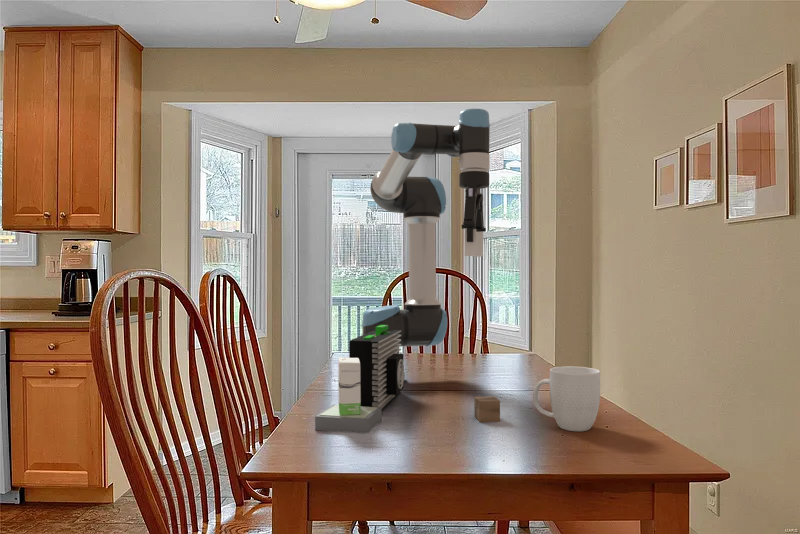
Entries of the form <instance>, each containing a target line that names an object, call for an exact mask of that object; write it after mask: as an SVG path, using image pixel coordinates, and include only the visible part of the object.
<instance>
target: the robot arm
mask: <svg viewBox="0 0 800 534" xmlns="http://www.w3.org/2000/svg"><path fill="white" fill-rule="evenodd" d="M458 119H459V120H458V123H459V124H458V125H447V124H446V125H445V124H428V123H427V124H426V123H414V122H413V123H412V122H399V123H395V125H394V126H393V128H392V131H391V136H390V137H391V141H390V143H391V148H392V150H391V152H390V154H389V156H388V157H387V159H386V161H385V163H384V165H383V167H382V168H381V170H380V171H378V172H377V173H375V174H374V176H373V178H372V179H371V182H370V187H369V188H370V194H371V197H372V199H373V201H374V203H376V205H377V206H379V208H381V209H383V210H384V211H386V212H390V213H394V214H395V213H397V214H403V220H404V222H406V223H407V225H408V290H409V291H408V293H409V294H408V300H407V301H406V302H405V303H404V309H401V308H400V305H397V304H394V305H383V306H377V307H371V308H367V309H366V310H364V312H363V314H362V320H361V321H362V324H361V326H362V335H364V334H366V333H369V332H371V331H376V327H377V326H379V325H388V331H393V330H401V332H399V333H397V334H396V335H401V337H399V338H397V339H401V341H400V342H398V343H396V344H401V346H399V347H398V348H397V349H400V347H430V346H438V345H440V344H441V343H442V342H443V341H444V339H445V337H446V334H447V329H448V315H447V314H448V313H447V312H446V310H445V309H444V308H441V307H442V306H441V304H442V303H441V302H440V301H439V300H438V299H437V289H436V288H437V284H436V283H437V281H436V279H437V277H436V275H437V272H436V268H437V267H436V266H437V265H436V263H437V262H436V261H437V259H436V258H437V257H436V224H437V222H438V221H439V220H440V219H441V215H442V214H444V213H445V210H446V205H447V196H446V195H447V194H446V190H445V186H444V184H443V182H442V181H441V180H440V179H439V178H436V177H428V176H409V175H410V173H411V171H412V170H413V168H414V167H415V166H416V164H417V162H418V161H419V159H420V157H421V156H422V154H432V155H434V154H435V155H447V156H448V157H452V158H458V159H457V160H456V162H457V164H459V171H460V173H459V177H458V179H459V180H458V181H459V182H458V184H459V187H460V188H462V189H465V190H464V191H465V195H464V196H465V200H464V201H465V202H464V210H463V211H464V213H463V224H461V229H462V230H463V229H464V257H474V258H475V257H478V258H479V257H480V258H481V257H482V258H483V257H484V232H486V231H487V228H486V227H485V224H484V211H483V210H484V207H483V206H484V204H483V203H484V202H483V201H484V195H483V193H481V189H486V188H488V187H490V173H489V170H491V168H490V167H491V166H490V165H491V164H490V162H491V161H490V157H491V155H490V132H491V131H490V127H491V124H490V114H489V112H488V110H486V109H484V108H468V109H463V110H461V111H460V113H459V117H458ZM397 353H400V351H399V352H397ZM405 380H406V374H405V371H404V382H405Z"/></svg>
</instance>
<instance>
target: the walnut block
mask: <svg viewBox="0 0 800 534" xmlns="http://www.w3.org/2000/svg"><path fill="white" fill-rule="evenodd" d="M473 402H474V404H473V405H474V408H473V409H474V410H473V412H474V413H473V415H474V416H473V417H475V418H476V419H477V420H478V421H479V422H478V421H477V420H476V419H475V418H474V419H475V420H476V421H477V422H478V423H500V422H501V400H500V399H499V398H497V397H496V396H474V400H473Z"/></svg>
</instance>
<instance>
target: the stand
mask: <svg viewBox="0 0 800 534" xmlns="http://www.w3.org/2000/svg"><path fill="white" fill-rule="evenodd" d="M382 414H383V412H382V408H379V407H362V406H361V414H356V415H340V414H339V404H333V405H331V406H329V407H328V408H326V409H324V410H322V412H319V413H318V414H317V415H315V416H314V422H315V423H314V428H315V429H314V430H315V431H329V432H342V433H356V434H357V433H358V434H368V433H369V432H370V431H371V430H373V428H375V427H376V426H377V425H379V423H381V421H382V418H383V417H382Z"/></svg>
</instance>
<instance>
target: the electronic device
mask: <svg viewBox="0 0 800 534" xmlns="http://www.w3.org/2000/svg"><path fill="white" fill-rule="evenodd" d="M399 332H401V330H393V331H388V325H379V326H377V327H376V331H371V332H369V333H366V334H364V335H363V334H362V335H360V336H357V337H355V338H352V339H351V340H349V341H348V343H349V346H348V348H349V351H348V352H349V353H348V354H349V355H348V358H359V361H360V385H361V406H362V407H379V408H382V413H383V412H384V411H385V410H386V409H387V408H389V406H390V405H391V404H392V403H393V402H394V401H395V400H396V399H398V397H399V396H401V395H402V390H404V382H405V381H404V372H405V364H404V361H405V360H404V357H405V356H404V353H402V352H401V353H400V351H402V349H401V348H400V347H402V346H401V344H396V343H398V342H400V341H401V339H397V338H399V337H401V335H396V334H397V333H399ZM399 346H400V347H399ZM398 347H399V349H397V348H398ZM397 352H399V353H397Z"/></svg>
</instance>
